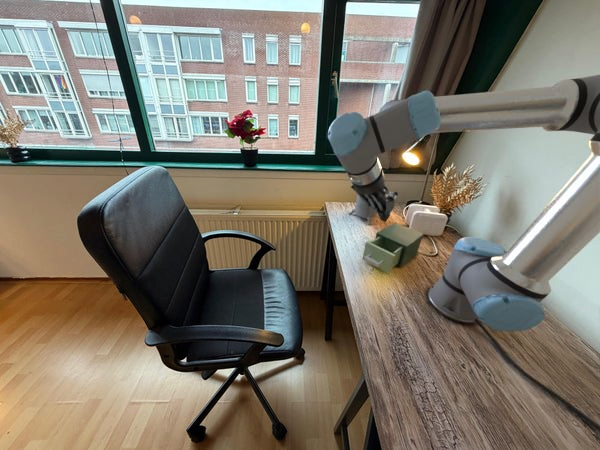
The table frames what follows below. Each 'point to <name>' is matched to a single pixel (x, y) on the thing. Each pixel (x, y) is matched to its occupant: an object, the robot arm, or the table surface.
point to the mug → (364, 210)
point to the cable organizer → (426, 219)
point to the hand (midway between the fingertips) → (385, 217)
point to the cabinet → (402, 240)
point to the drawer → (383, 253)
